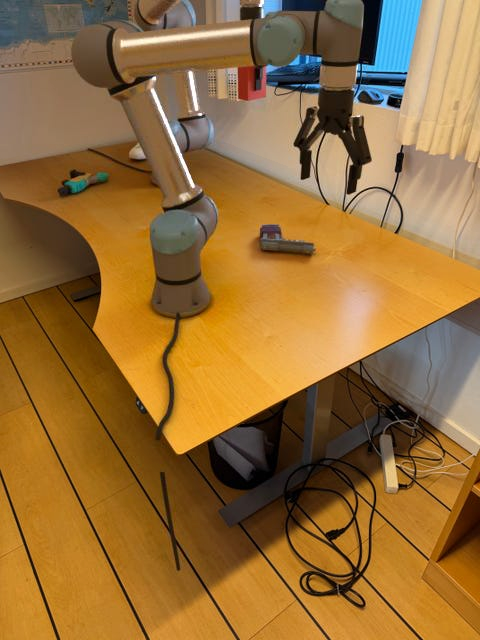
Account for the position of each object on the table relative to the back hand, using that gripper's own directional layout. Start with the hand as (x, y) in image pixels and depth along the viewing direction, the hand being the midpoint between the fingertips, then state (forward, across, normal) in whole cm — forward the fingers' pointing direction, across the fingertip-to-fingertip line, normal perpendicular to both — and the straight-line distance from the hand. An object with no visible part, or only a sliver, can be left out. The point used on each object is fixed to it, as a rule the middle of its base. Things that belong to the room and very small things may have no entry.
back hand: (252, 88), depth 159 cm
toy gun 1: (+39, +61, +41) cm, 83 cm away
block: (+3, 0, 0) cm, 3 cm away
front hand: (+10, -58, +34) cm, 68 cm away
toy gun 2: (+39, -34, +20) cm, 56 cm away
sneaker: (+39, +76, -6) cm, 86 cm away
